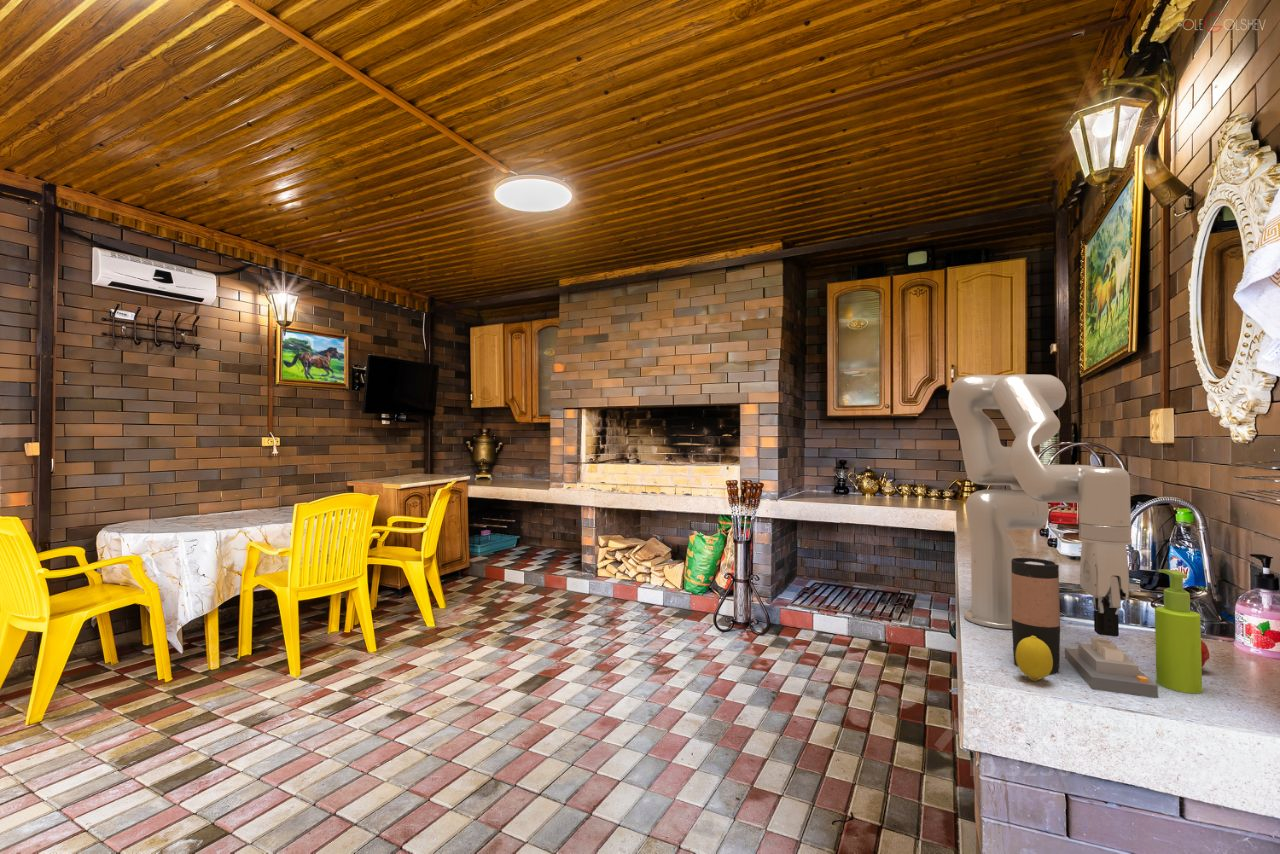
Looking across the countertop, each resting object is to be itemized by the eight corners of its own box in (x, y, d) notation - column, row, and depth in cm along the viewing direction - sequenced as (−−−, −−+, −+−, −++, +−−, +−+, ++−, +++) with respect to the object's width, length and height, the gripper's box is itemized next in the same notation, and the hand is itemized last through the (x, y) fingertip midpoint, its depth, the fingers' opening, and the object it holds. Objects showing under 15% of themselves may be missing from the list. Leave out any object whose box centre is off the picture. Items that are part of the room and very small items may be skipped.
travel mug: (1003, 662, 112) (1001, 559, 112) (1028, 657, 115) (1027, 556, 115) (1044, 677, 104) (1042, 566, 105) (1070, 671, 108) (1068, 563, 108)
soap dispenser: (1186, 679, 104) (1183, 568, 105) (1210, 695, 97) (1207, 576, 98) (1146, 675, 106) (1143, 566, 106) (1167, 690, 99) (1165, 574, 100)
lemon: (1059, 688, 100) (1058, 642, 100) (1024, 685, 101) (1023, 639, 101) (1043, 676, 105) (1043, 632, 105) (1010, 673, 106) (1009, 629, 106)
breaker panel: (1064, 657, 114) (1064, 628, 115) (1120, 664, 111) (1120, 634, 111) (1092, 688, 100) (1091, 655, 100) (1158, 697, 96) (1157, 662, 96)
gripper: (1067, 527, 115) (1069, 620, 114) (1093, 538, 101) (1095, 644, 100) (1114, 530, 112) (1116, 625, 111) (1147, 541, 98) (1149, 650, 97)
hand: (1106, 634), depth 106 cm, fingers closed
